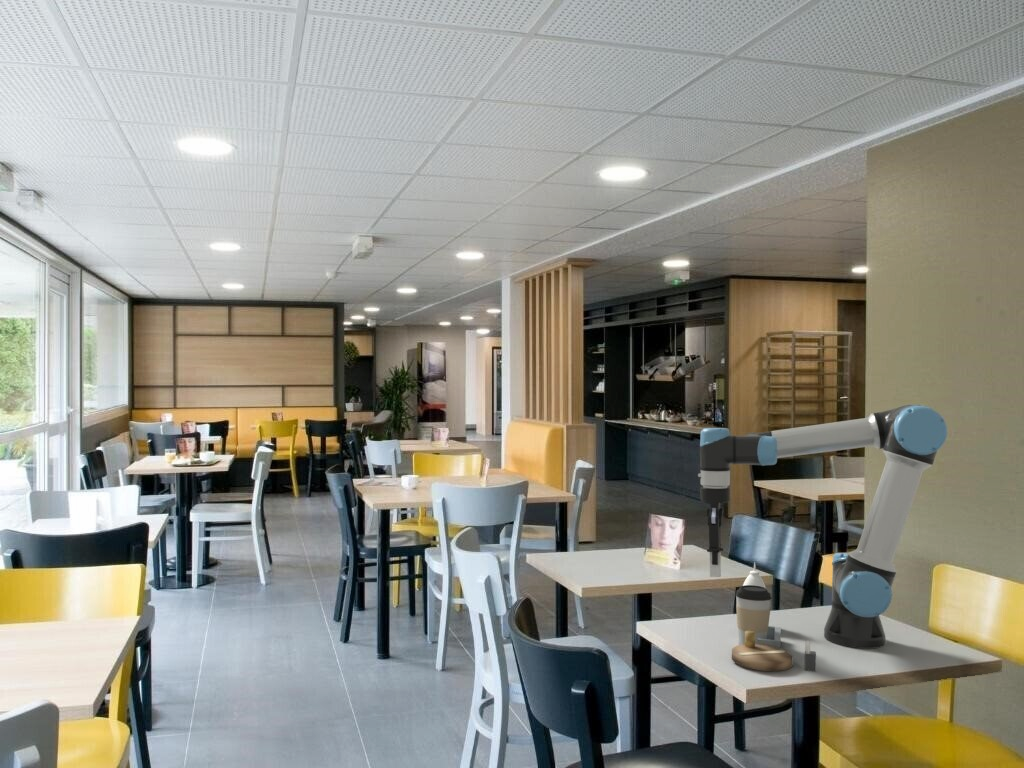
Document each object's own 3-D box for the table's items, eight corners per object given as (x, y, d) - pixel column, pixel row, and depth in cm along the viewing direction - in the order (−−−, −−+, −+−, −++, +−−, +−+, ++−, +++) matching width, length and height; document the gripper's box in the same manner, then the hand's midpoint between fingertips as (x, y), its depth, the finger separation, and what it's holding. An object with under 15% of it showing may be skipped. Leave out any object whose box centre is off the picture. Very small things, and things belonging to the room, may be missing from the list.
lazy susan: (771, 650, 210) (771, 629, 210) (804, 668, 197) (804, 645, 197) (721, 653, 207) (721, 631, 207) (751, 672, 193) (751, 649, 193)
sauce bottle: (765, 631, 229) (767, 566, 229) (736, 627, 232) (738, 562, 232) (769, 625, 236) (771, 561, 236) (741, 621, 239) (743, 558, 239)
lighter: (815, 667, 200) (815, 640, 200) (815, 672, 197) (816, 644, 197) (804, 666, 200) (805, 639, 200) (804, 670, 197) (805, 642, 197)
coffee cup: (765, 639, 221) (766, 583, 222) (774, 650, 212) (776, 591, 213) (730, 638, 222) (732, 582, 222) (738, 649, 213) (740, 590, 213)
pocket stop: (780, 640, 222) (780, 626, 222) (780, 656, 208) (780, 642, 208) (758, 637, 223) (759, 624, 223) (757, 653, 210) (757, 639, 210)
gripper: (702, 483, 228) (702, 570, 227) (698, 488, 215) (698, 580, 215) (731, 484, 225) (731, 572, 225) (728, 489, 213) (728, 582, 213)
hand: (715, 576), depth 220 cm, fingers closed
